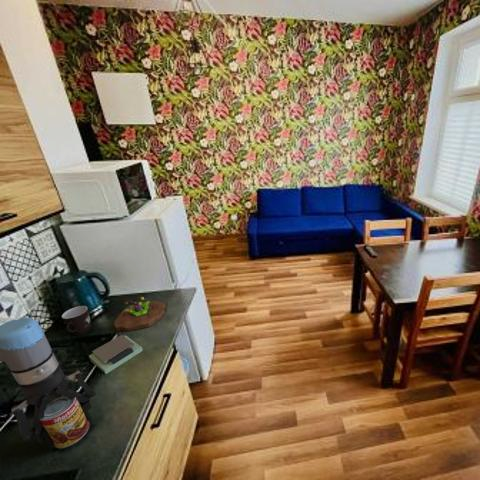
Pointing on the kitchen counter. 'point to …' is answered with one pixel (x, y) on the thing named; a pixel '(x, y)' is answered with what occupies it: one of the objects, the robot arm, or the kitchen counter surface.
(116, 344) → the scale pan
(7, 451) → the kitchen counter surface
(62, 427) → the canned food
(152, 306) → the plant
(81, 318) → the coffee mug
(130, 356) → the scale
